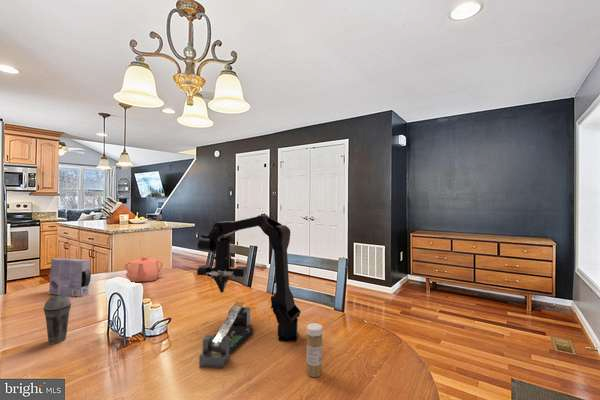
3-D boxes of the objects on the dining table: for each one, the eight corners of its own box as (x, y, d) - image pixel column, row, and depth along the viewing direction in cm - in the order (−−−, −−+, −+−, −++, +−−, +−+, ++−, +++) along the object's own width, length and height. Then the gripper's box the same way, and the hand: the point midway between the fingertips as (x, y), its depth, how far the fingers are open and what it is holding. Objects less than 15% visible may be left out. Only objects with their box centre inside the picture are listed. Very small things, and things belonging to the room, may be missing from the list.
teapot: (119, 287, 155) (119, 262, 155) (127, 278, 173) (127, 255, 173) (159, 284, 161) (160, 260, 161) (164, 275, 180) (164, 253, 180)
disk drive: (228, 331, 108) (203, 350, 94) (228, 323, 108) (203, 341, 94) (253, 335, 105) (231, 355, 91) (253, 327, 105) (231, 346, 91)
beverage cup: (37, 347, 93) (38, 285, 93) (50, 336, 100) (51, 279, 100) (64, 344, 95) (64, 284, 95) (75, 334, 102) (75, 278, 102)
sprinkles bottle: (313, 366, 85) (313, 321, 85) (325, 373, 82) (325, 326, 82) (302, 373, 82) (303, 326, 81) (314, 380, 78) (315, 331, 78)
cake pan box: (91, 294, 144) (91, 259, 144) (82, 297, 139) (82, 261, 139) (58, 291, 147) (58, 257, 147) (48, 295, 142) (48, 259, 142)
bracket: (250, 323, 113) (250, 306, 113) (223, 368, 83) (223, 344, 83) (232, 322, 114) (232, 305, 114) (199, 366, 84) (199, 343, 84)
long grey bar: (243, 304, 111) (243, 301, 111) (220, 348, 87) (220, 344, 86) (235, 304, 111) (235, 300, 111) (210, 348, 87) (210, 343, 87)
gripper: (251, 250, 121) (250, 287, 121) (208, 248, 123) (208, 285, 123) (243, 255, 110) (242, 296, 110) (196, 253, 112) (196, 293, 112)
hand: (222, 292), depth 114 cm, fingers closed
